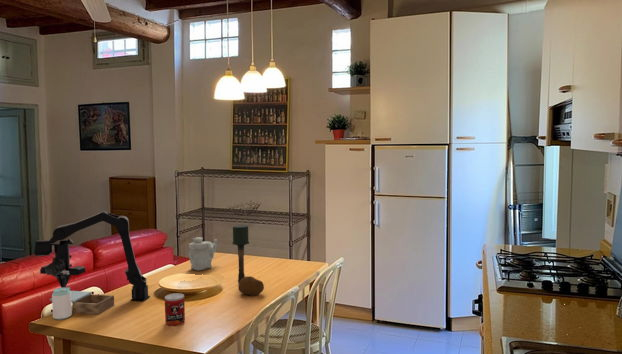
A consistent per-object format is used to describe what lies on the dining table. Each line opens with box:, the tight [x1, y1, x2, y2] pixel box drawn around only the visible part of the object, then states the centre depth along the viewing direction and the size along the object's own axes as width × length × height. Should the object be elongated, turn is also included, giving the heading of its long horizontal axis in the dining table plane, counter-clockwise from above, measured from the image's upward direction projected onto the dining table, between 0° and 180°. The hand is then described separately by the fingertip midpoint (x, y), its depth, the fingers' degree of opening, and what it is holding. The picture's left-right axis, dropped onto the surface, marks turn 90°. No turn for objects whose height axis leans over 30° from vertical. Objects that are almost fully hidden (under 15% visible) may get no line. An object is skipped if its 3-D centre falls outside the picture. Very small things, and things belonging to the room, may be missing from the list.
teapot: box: [188, 236, 218, 272], centre depth 277 cm, size 16×15×19 cm
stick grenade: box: [231, 224, 250, 284], centre depth 245 cm, size 8×9×30 cm
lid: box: [49, 286, 93, 303], centre depth 211 cm, size 12×12×3 cm
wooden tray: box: [71, 293, 115, 315], centre depth 209 cm, size 12×12×4 cm
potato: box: [238, 275, 265, 296], centre depth 227 cm, size 8×12×9 cm
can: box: [51, 286, 73, 321], centre depth 200 cm, size 7×7×12 cm
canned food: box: [164, 292, 186, 327], centre depth 192 cm, size 8×8×11 cm
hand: (63, 288), depth 212 cm, fingers closed
